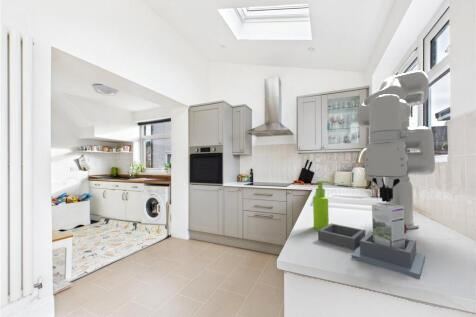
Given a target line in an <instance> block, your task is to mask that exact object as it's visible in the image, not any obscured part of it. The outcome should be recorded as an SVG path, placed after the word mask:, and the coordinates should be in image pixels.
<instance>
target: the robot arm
mask: <svg viewBox="0 0 476 317" xmlns="http://www.w3.org/2000/svg"><path fill="white" fill-rule="evenodd" d="M429 85H430V81H429V76H428V75H427V74H426V72H424V71H423V70H413V71H410V72H404V73H401V74H397V75H393V76H390V77H388V78H386V79H384V81H383V82H382V83H381V85H380V88H379V90H378V91H376V92H375V93H373V94H371V95H369V96H367V97H365V98H364V99H363V100H362V101H361V102H360V103H359V105H358V108H357V111H356V121H357V123H358V125H359V126H360V127H363V128H368V129H369V130H368V131H369V143H367V145H366V150H365V159H364V174H365V175H364V179H365V180H366V181H370V182H373V183H374V184H375V185H377V187H378V188H379V198H380V199H381V202H383V203H388V204H394V205H400V206H403V207H404V223H405V225H406V227H407V230H408V229H409V230H411V229H412V230H413V229H418V228H419V224H418V223H417V222H416V221H414V202H413V201H414V199H413V198H414V196H413V195H414V194H413V193H414V192H413V190H414V189H413V184H412V182H411V181H410V180H411V179H410V176H409V175H411V176H413V175H415V176H416V175H417V176H421V175H422V176H427V175H432V174H433V173H434V172H435V168H436V162H435V161H436V159H435V143H434V138H435V137H434V135H433V134H434V133H433V130H431V128H429V127H427V126H418V127H417V126H416V127H411V126H410V117H411V114H412V109H411V107H412V106H419V105H422V104H424V103H426V102H427V101H428V99H429V93H430V92H429ZM409 150H416V151H415V152H413V151H412V152H408V151H409ZM417 150H418V151H417Z"/></svg>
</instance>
